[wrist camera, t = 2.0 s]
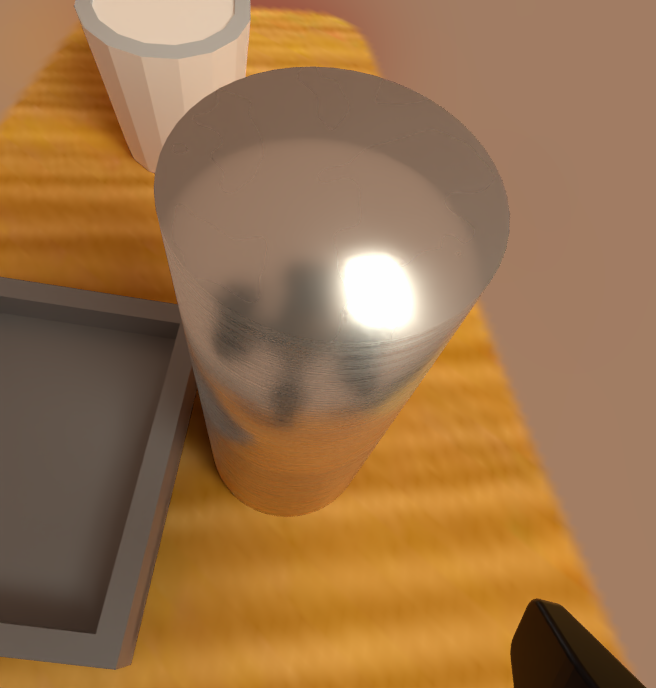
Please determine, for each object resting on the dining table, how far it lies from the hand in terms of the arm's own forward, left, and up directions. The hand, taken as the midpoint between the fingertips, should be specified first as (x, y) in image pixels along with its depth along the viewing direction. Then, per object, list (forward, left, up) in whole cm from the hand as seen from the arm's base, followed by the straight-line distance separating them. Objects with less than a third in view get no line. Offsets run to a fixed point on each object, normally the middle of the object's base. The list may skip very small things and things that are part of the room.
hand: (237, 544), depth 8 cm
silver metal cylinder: (+5, -1, -12) cm, 13 cm away
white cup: (+20, +7, -12) cm, 25 cm away
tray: (+3, +8, -12) cm, 15 cm away
